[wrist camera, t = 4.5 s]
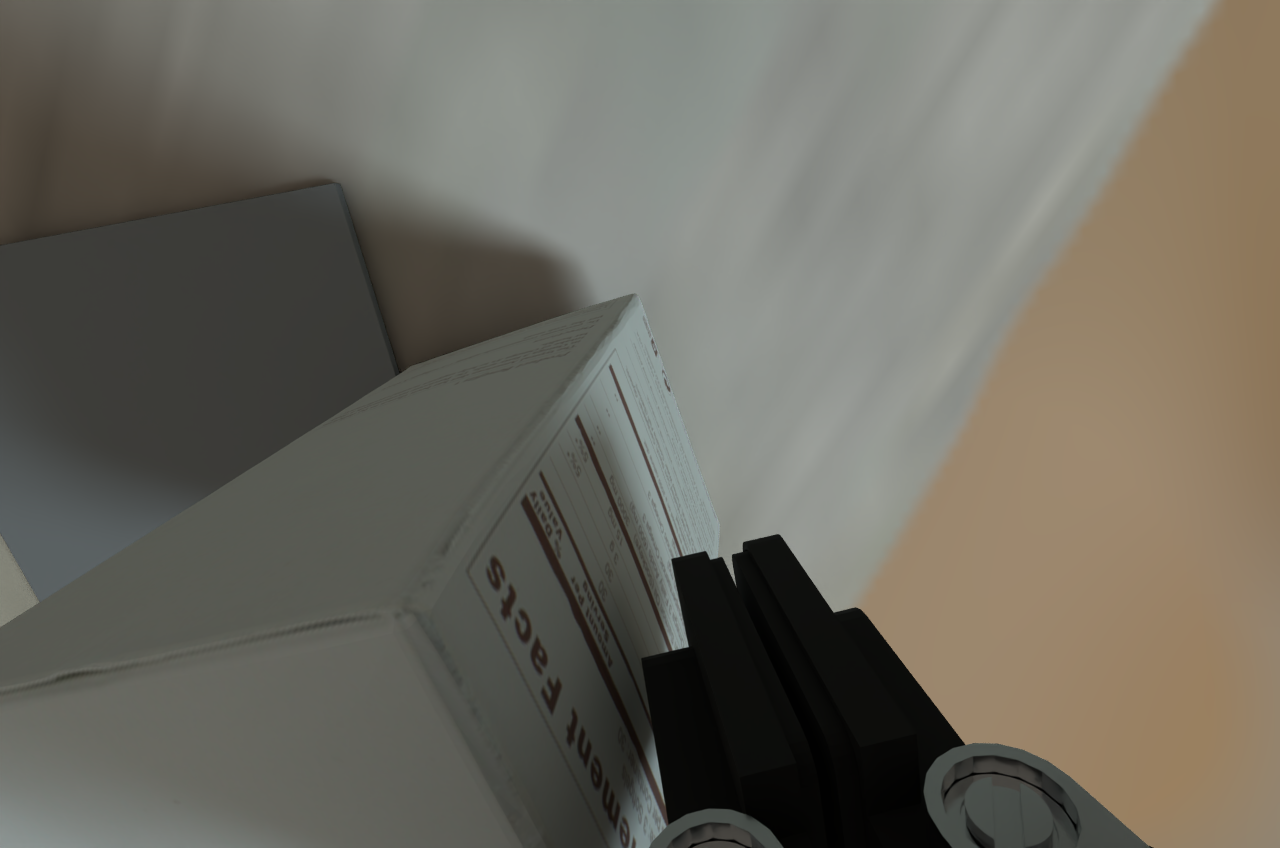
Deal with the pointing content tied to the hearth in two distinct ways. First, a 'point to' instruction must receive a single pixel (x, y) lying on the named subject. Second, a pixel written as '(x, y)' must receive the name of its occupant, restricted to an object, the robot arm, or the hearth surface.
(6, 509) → the mat
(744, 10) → the hearth surface
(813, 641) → the robot arm
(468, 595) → the supplement box
